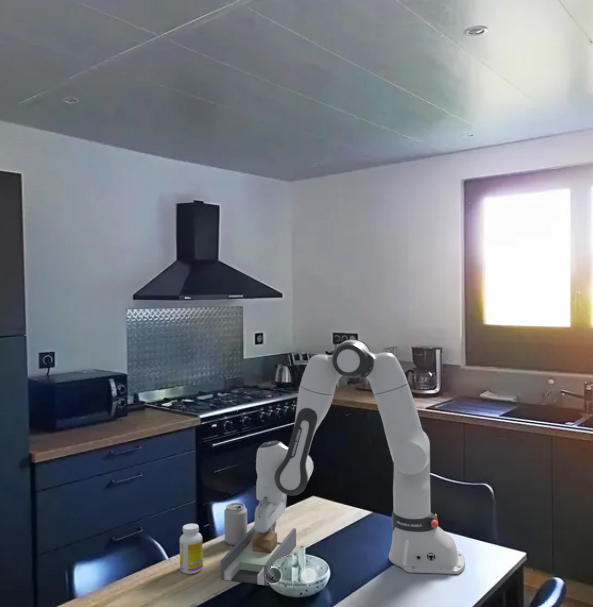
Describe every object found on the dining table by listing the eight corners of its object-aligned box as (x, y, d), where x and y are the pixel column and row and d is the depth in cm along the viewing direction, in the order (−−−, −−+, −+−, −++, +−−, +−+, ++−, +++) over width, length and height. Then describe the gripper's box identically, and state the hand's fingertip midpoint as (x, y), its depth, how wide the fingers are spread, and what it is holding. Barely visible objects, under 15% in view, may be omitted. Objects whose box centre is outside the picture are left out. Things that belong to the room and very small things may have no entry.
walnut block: (277, 545, 185) (277, 532, 185) (270, 553, 179) (270, 540, 179) (259, 543, 187) (259, 530, 187) (252, 551, 181) (252, 538, 181)
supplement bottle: (207, 566, 176) (206, 524, 176) (194, 576, 170) (193, 532, 170) (188, 562, 179) (188, 520, 179) (175, 572, 173) (174, 528, 173)
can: (246, 546, 191) (245, 509, 190) (223, 546, 191) (222, 509, 191) (248, 536, 198) (248, 501, 198) (226, 537, 198) (225, 501, 198)
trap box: (296, 545, 191) (296, 528, 191) (267, 585, 164) (267, 565, 164) (255, 540, 195) (255, 524, 195) (221, 579, 169) (220, 560, 168)
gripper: (268, 504, 177) (269, 550, 178) (289, 483, 197) (289, 525, 197) (248, 502, 179) (249, 548, 180) (271, 482, 199) (272, 523, 199)
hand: (270, 535), depth 189 cm, fingers closed
